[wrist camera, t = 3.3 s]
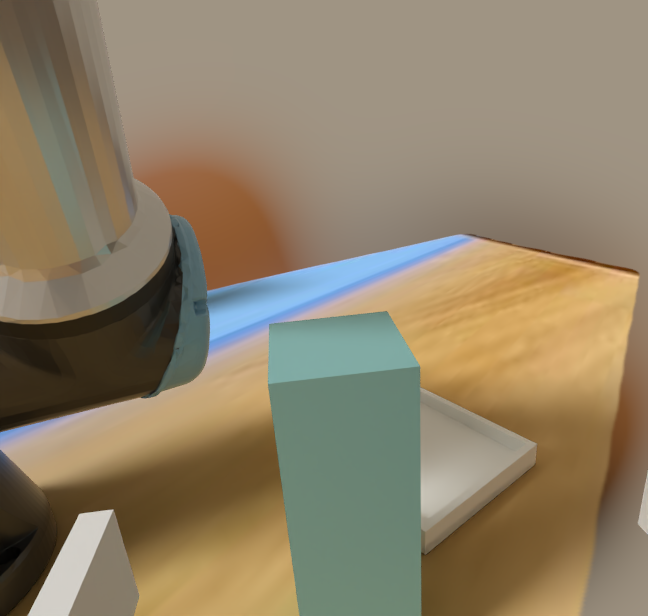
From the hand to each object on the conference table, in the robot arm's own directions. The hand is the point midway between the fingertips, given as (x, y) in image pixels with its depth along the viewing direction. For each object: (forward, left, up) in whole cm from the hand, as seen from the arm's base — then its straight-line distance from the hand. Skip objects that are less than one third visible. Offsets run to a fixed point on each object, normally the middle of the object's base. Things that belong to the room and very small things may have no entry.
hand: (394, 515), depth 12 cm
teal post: (-9, +5, -18) cm, 21 cm away
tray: (-16, +18, -18) cm, 30 cm away
